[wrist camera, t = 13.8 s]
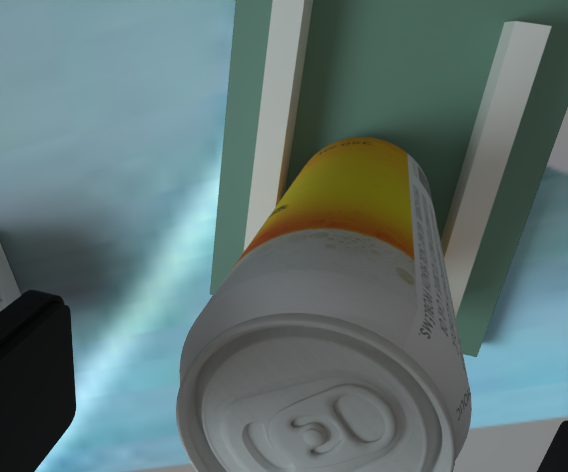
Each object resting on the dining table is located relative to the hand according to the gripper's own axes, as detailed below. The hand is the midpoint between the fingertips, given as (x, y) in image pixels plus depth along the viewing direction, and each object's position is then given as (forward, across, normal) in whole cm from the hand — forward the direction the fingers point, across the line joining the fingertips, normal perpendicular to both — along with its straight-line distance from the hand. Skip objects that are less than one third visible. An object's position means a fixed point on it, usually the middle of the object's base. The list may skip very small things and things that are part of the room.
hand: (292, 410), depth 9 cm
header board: (+16, -1, -3) cm, 16 cm away
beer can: (+15, -1, +1) cm, 15 cm away
